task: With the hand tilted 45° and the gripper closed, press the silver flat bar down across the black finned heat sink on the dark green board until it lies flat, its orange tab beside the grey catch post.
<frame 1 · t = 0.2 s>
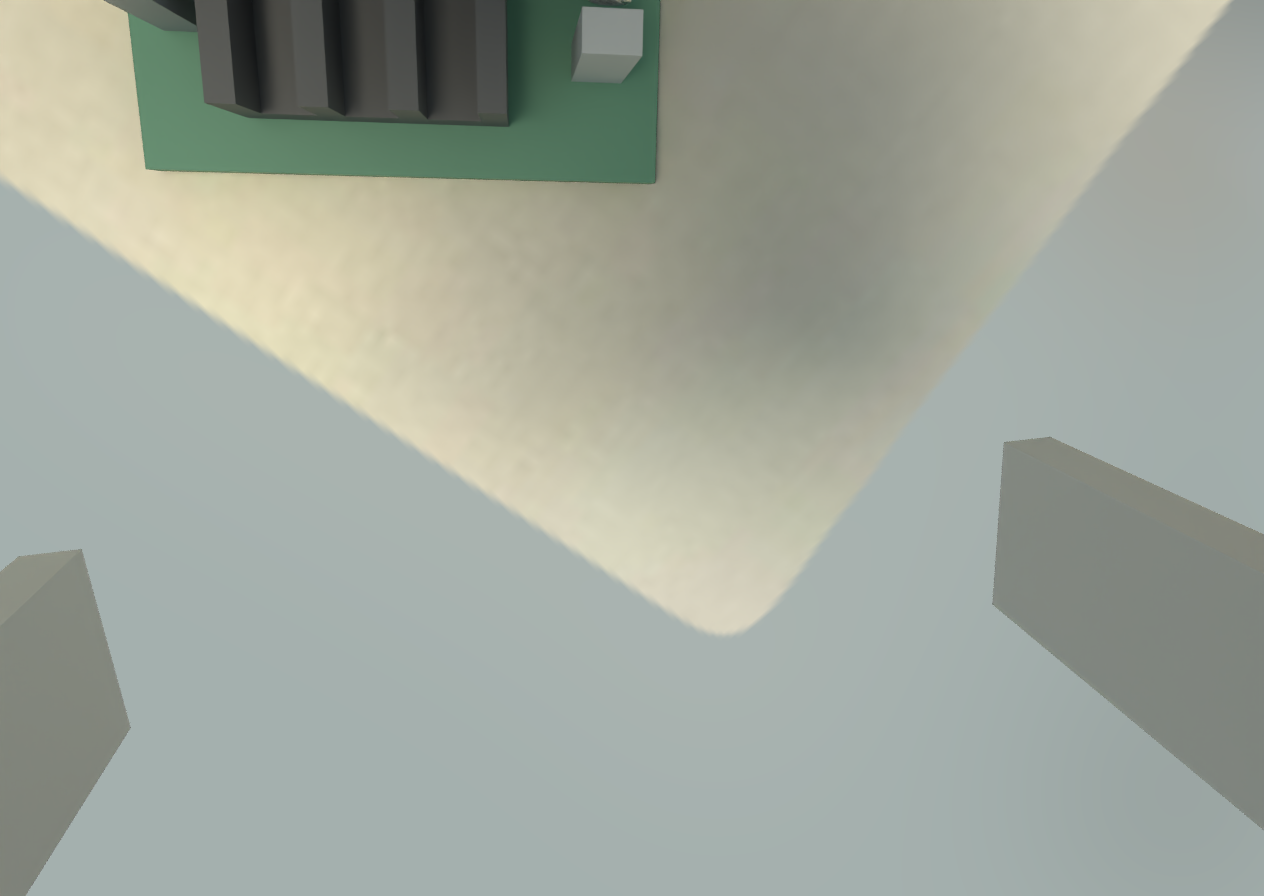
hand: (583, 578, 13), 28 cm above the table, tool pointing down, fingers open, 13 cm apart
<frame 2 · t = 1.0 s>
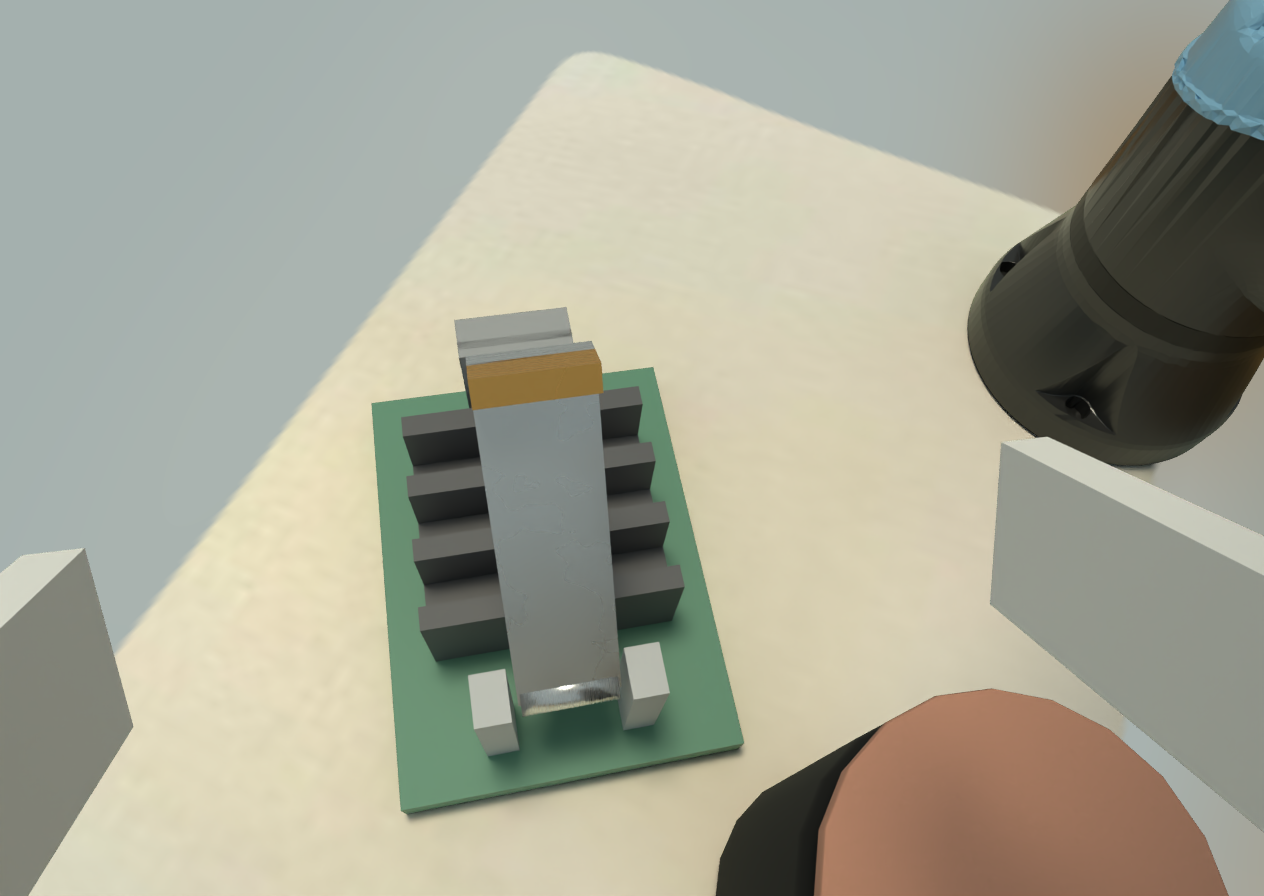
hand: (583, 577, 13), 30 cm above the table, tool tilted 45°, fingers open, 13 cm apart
silver flat bar: (554, 553, 31), point 13 cm above the table, hinge at 55.0°
cpu board: (544, 570, 44), on the table
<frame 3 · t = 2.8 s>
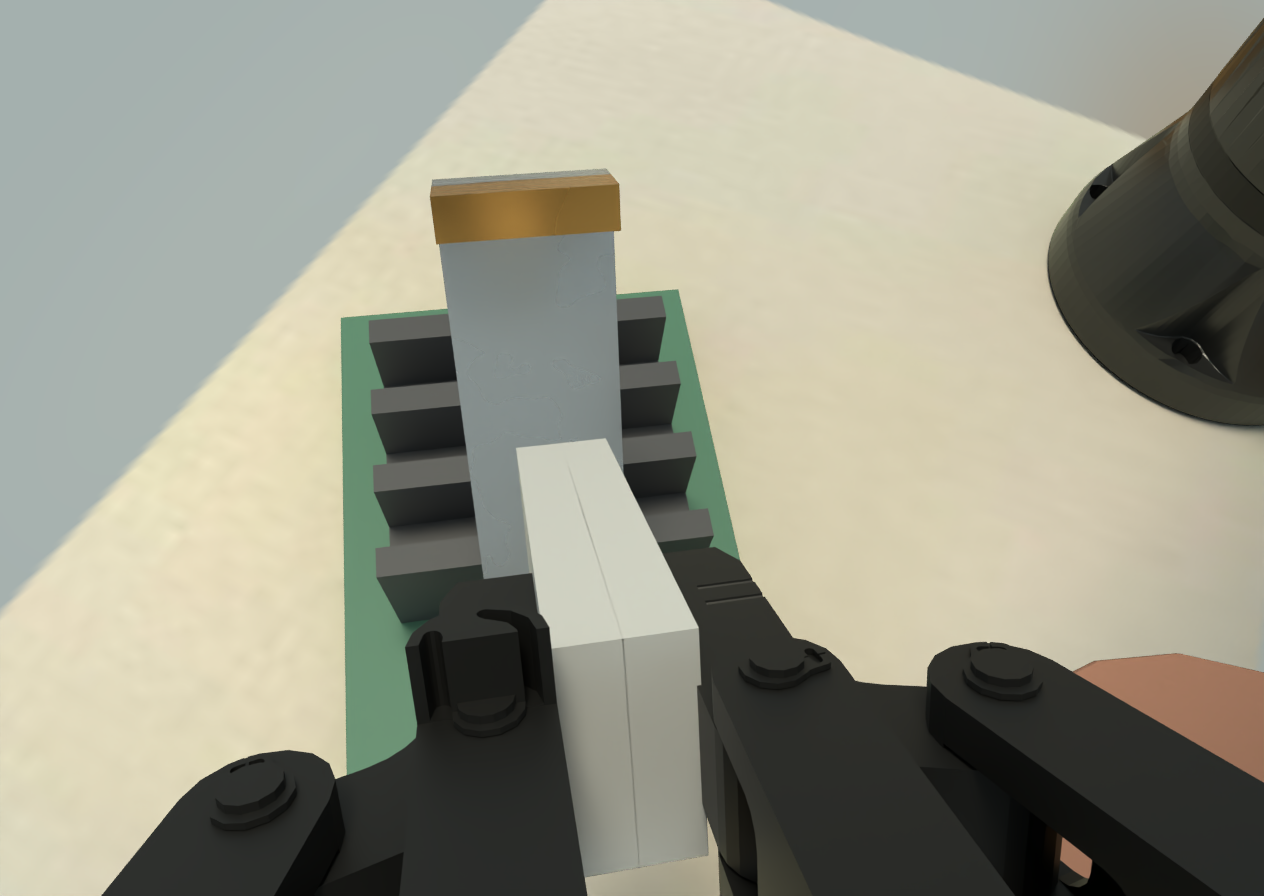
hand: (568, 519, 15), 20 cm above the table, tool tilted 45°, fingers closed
silver flat bar: (547, 469, 23), point 13 cm above the table, hinge at 55.0°
cpu board: (539, 521, 36), on the table
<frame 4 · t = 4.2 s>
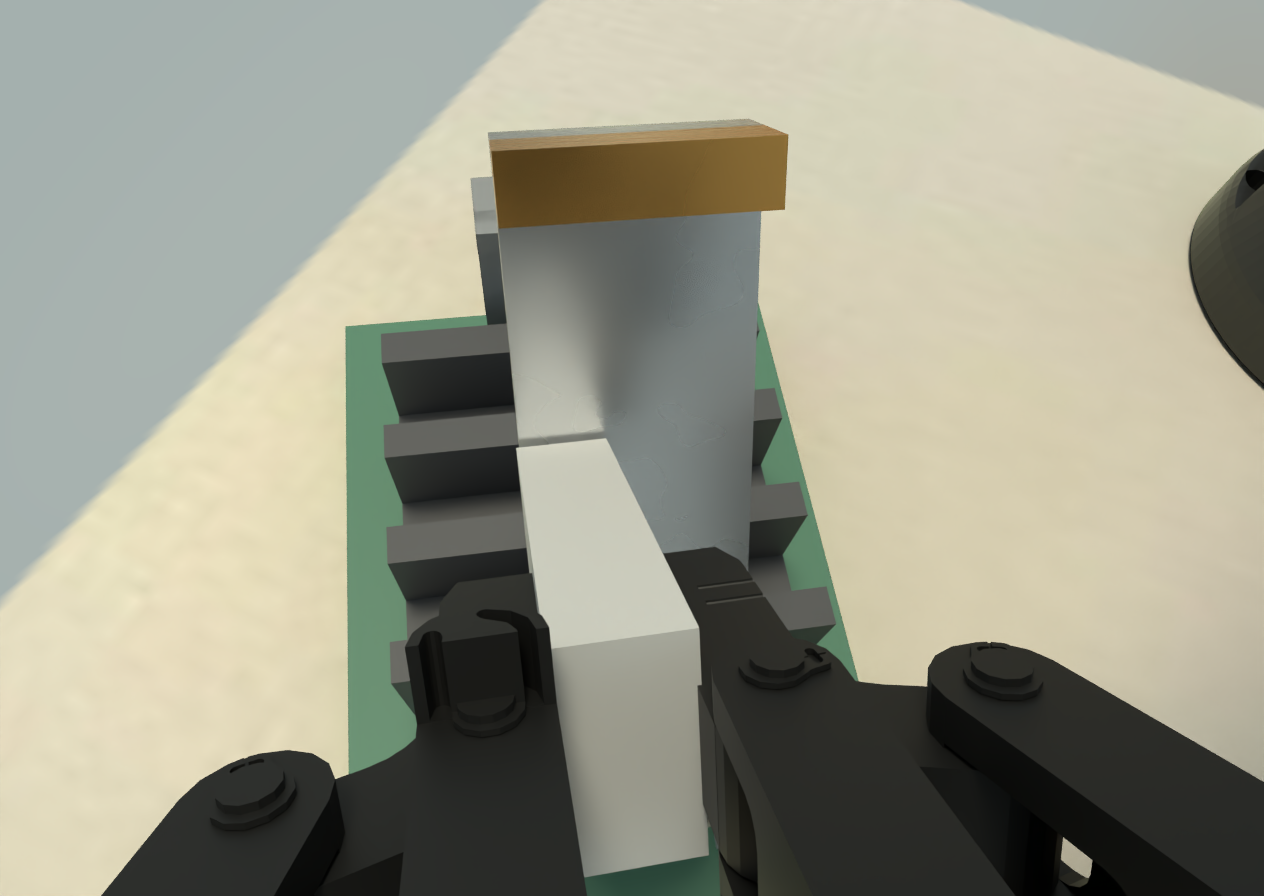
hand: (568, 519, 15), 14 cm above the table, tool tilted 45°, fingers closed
silver flat bar: (642, 559, 16), point 13 cm above the table, hinge at 53.9°, touching gripper
cpu board: (591, 583, 29), on the table
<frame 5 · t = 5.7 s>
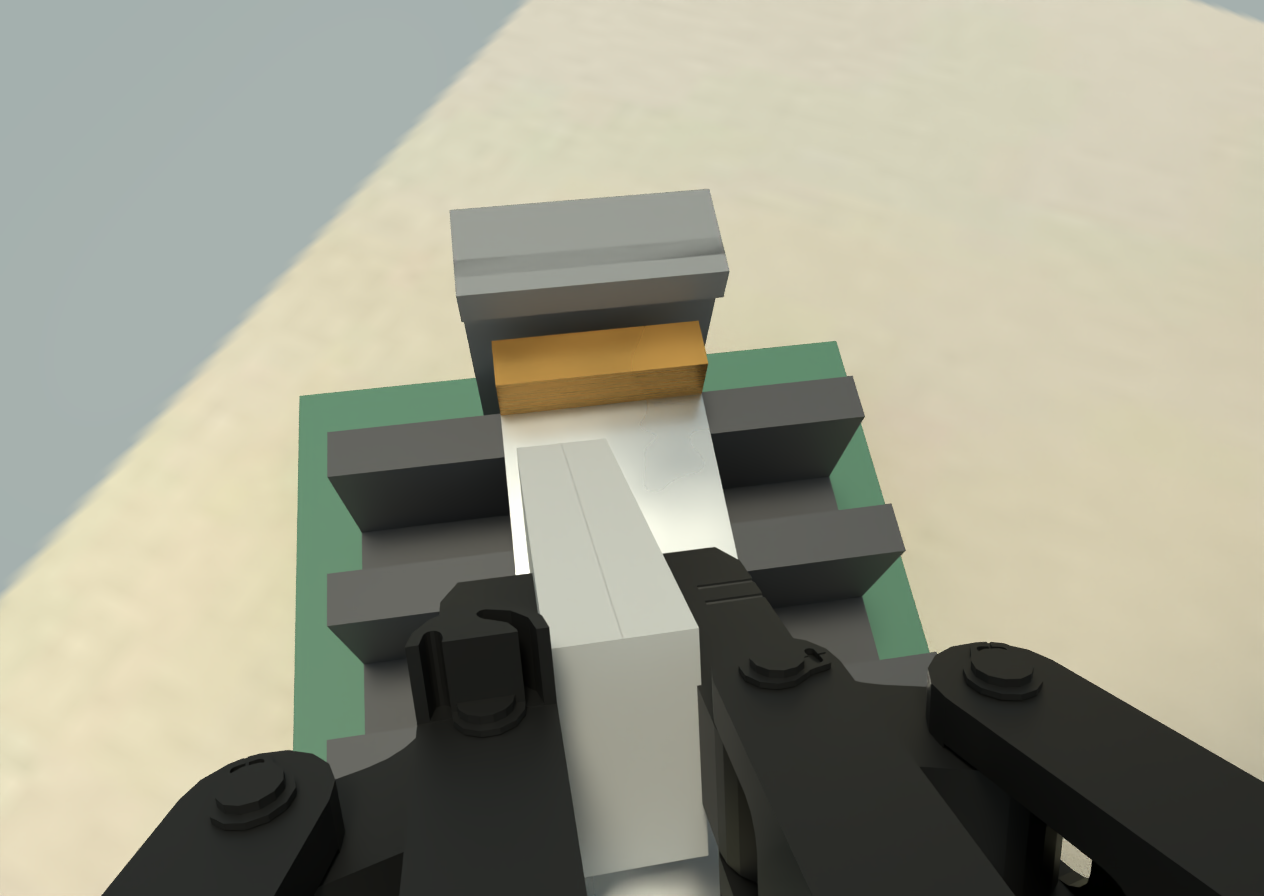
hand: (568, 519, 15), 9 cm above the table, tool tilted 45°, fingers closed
silver flat bar: (654, 734, 15), point 7 cm above the table, hinge at -1.3°, touching cpu board, gripper
cpu board: (627, 747, 22), on the table
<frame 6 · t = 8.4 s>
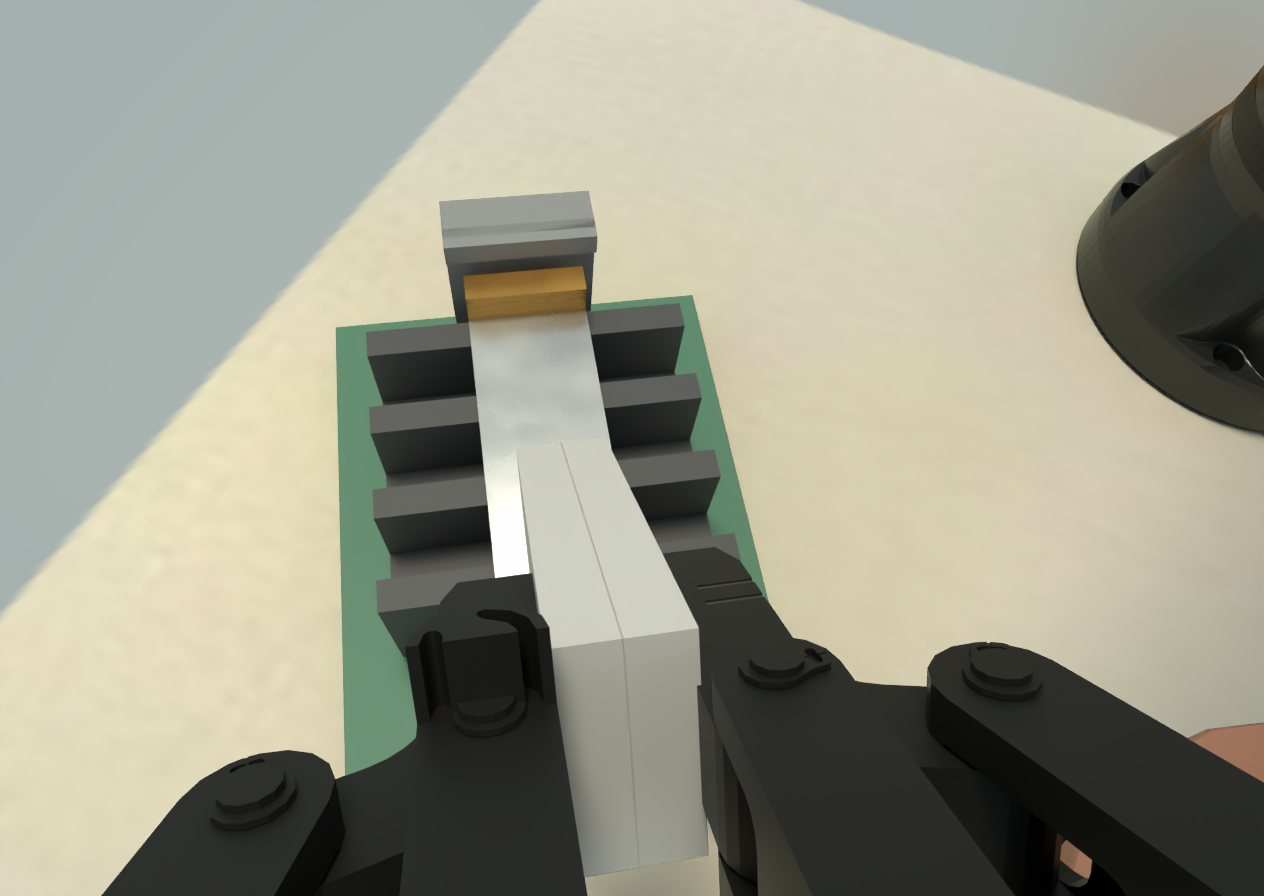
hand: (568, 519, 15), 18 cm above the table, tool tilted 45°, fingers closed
silver flat bar: (551, 479, 27), point 7 cm above the table, hinge at -1.3°, touching cpu board
cpu board: (549, 543, 34), on the table
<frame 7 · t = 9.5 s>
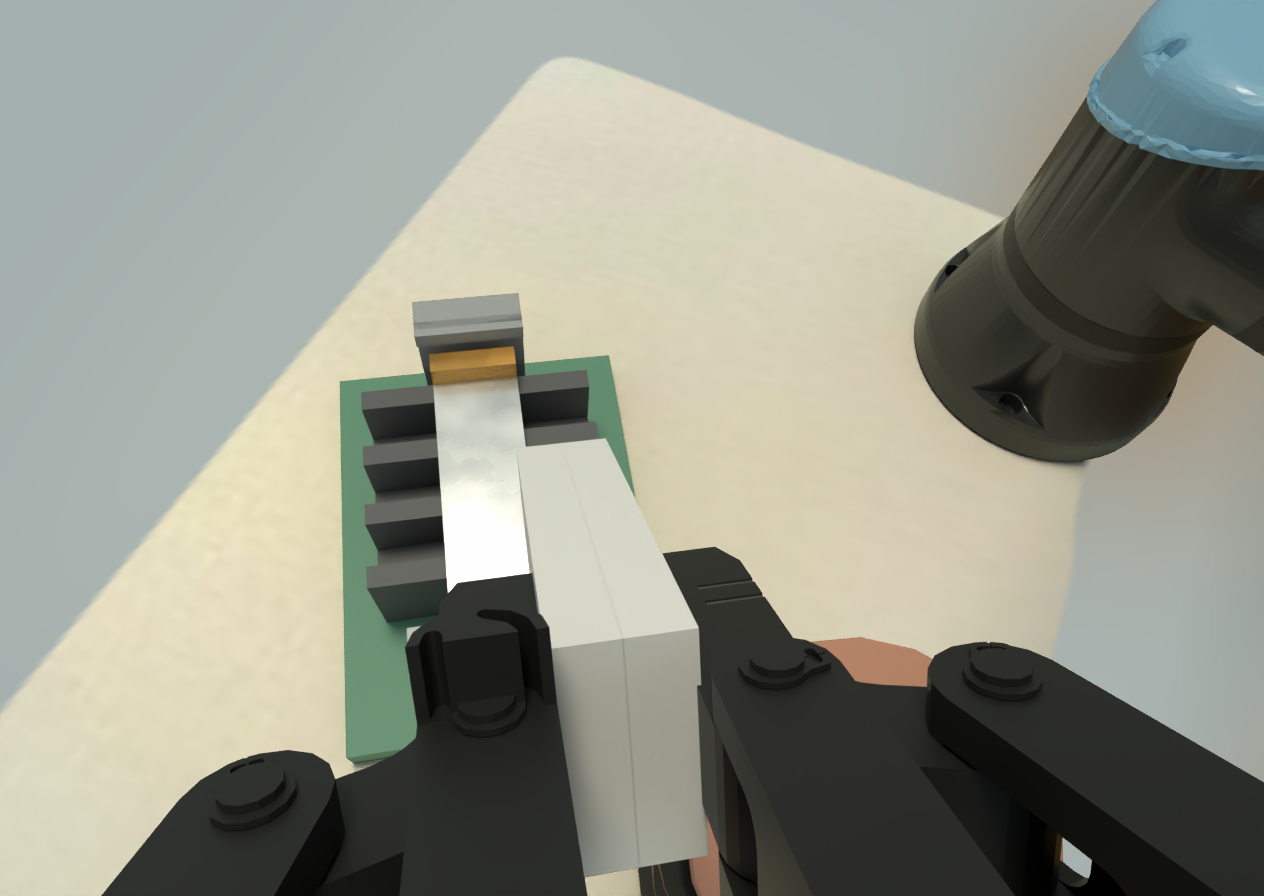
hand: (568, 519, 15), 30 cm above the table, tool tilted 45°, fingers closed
silver flat bar: (486, 498, 40), point 7 cm above the table, hinge at -1.3°, touching cpu board
cpu board: (495, 542, 46), on the table
coffee jar: (750, 860, 40), on the table
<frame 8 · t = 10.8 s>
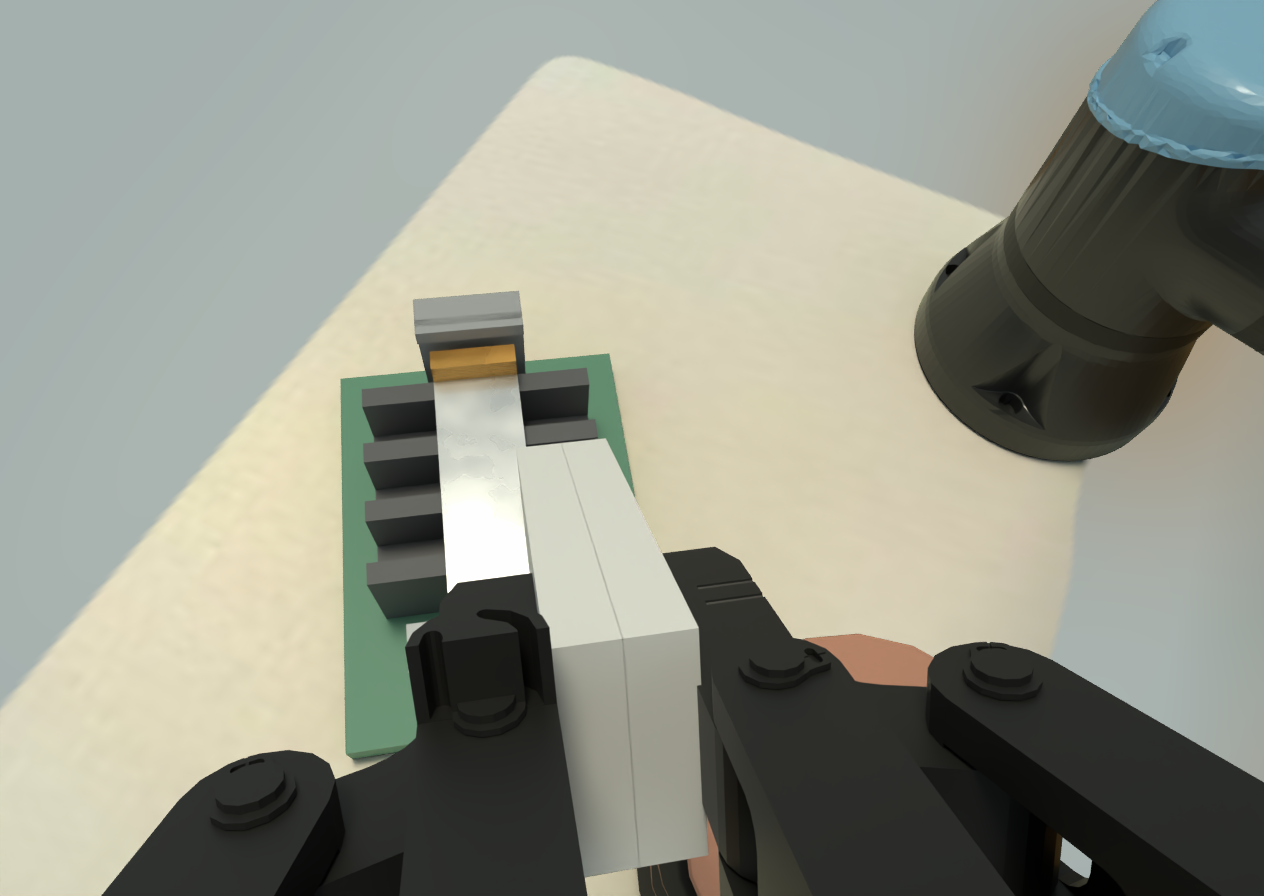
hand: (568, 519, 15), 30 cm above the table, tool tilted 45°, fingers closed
silver flat bar: (486, 495, 40), point 7 cm above the table, hinge at -1.3°, touching cpu board
cpu board: (495, 540, 47), on the table
coffee jar: (748, 858, 40), on the table
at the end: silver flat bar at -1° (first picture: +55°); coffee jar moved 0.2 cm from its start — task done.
